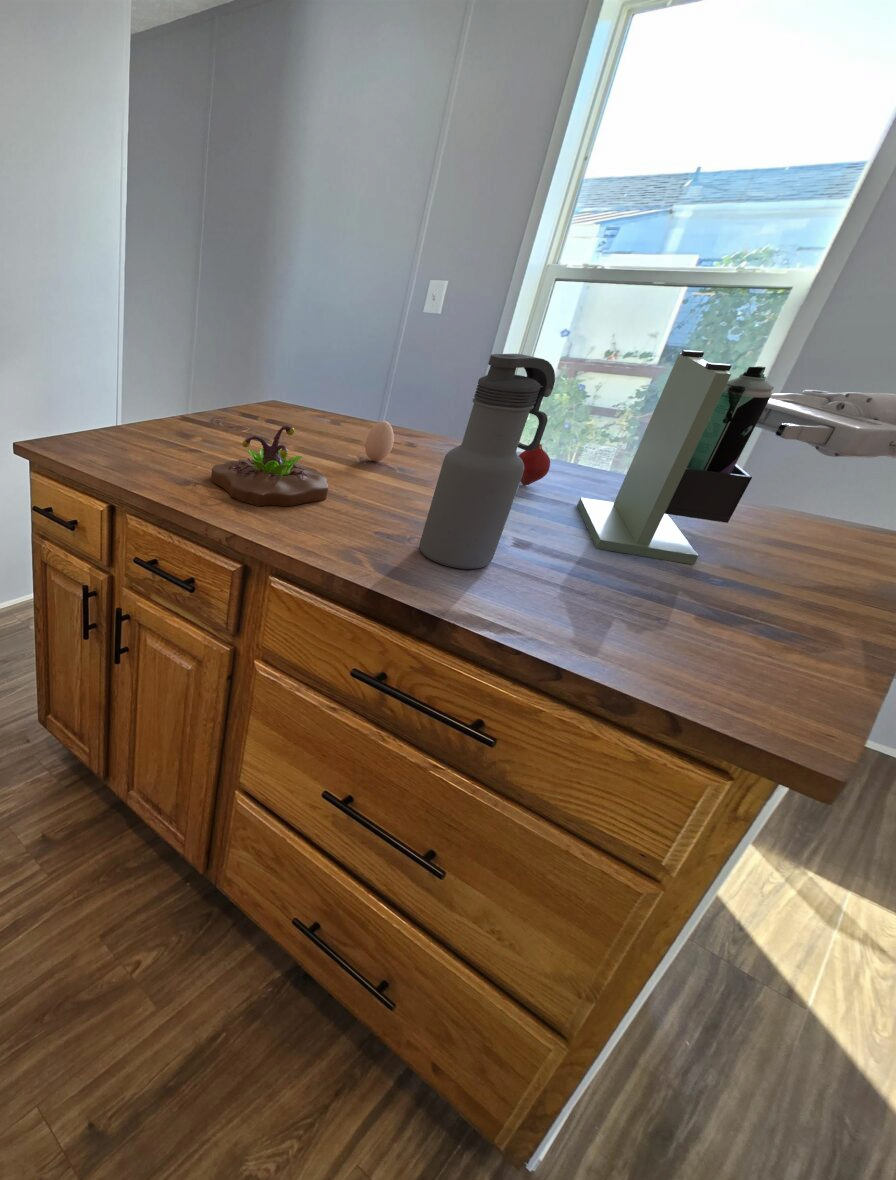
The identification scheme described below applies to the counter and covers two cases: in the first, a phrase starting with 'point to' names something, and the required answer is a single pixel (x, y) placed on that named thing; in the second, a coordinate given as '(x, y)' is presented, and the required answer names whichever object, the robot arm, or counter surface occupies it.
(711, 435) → the spray can
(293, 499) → the plant
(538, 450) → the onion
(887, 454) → the robot arm
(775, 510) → the counter surface
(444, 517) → the water bottle
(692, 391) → the white stand
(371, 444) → the egg
